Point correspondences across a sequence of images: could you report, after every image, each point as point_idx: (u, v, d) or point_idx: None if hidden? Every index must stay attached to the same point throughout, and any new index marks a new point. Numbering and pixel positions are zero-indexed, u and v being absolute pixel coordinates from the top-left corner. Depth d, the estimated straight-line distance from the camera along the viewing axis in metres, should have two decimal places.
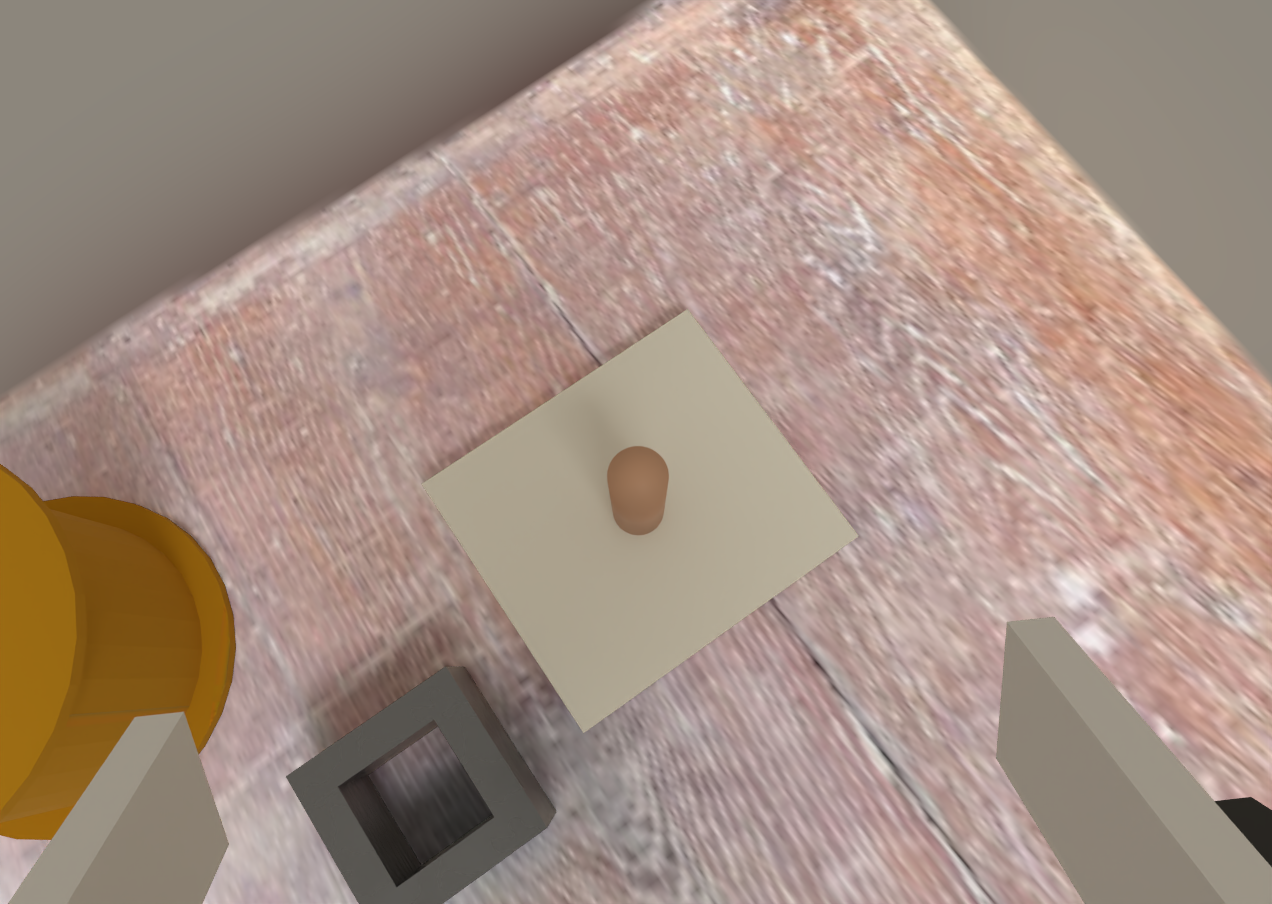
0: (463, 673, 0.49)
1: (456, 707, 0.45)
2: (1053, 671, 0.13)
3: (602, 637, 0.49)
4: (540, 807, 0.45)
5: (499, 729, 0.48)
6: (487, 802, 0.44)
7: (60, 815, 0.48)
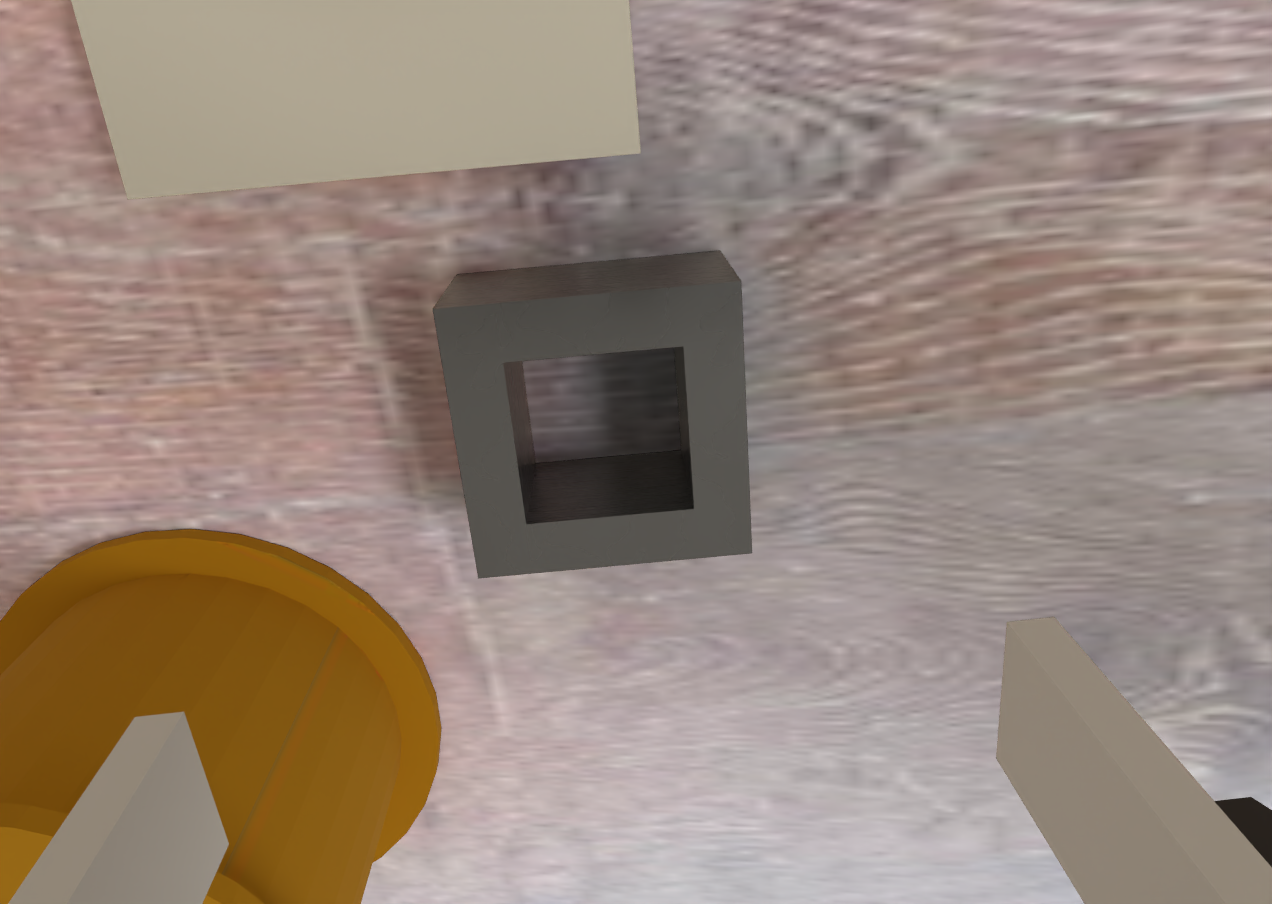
0: (463, 282, 0.30)
1: (502, 323, 0.27)
2: (1052, 671, 0.13)
3: (514, 39, 0.27)
4: (706, 273, 0.28)
5: (568, 272, 0.30)
6: (658, 345, 0.28)
7: (402, 789, 0.39)
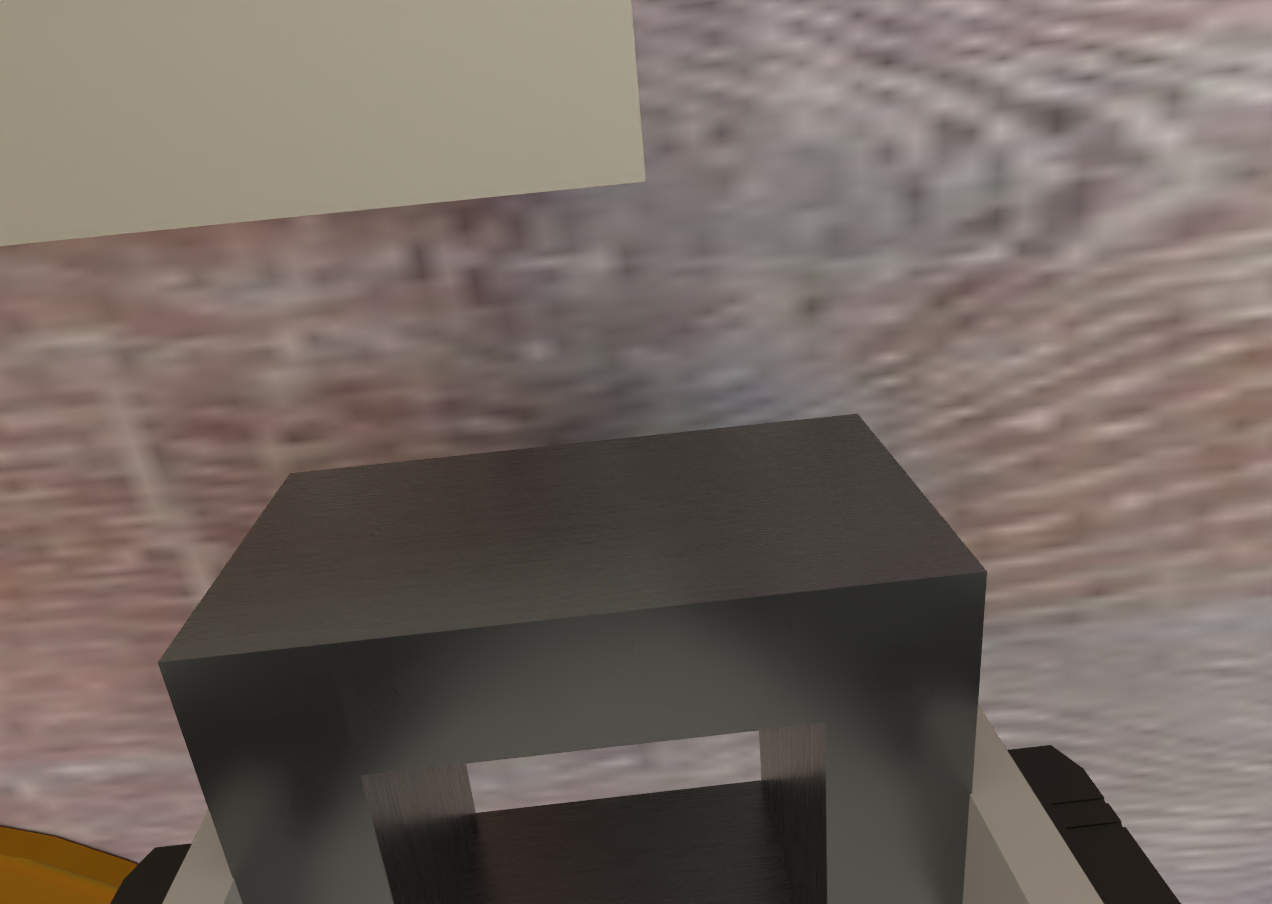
0: (288, 514, 0.13)
1: (351, 689, 0.10)
2: None
3: None
4: (871, 521, 0.11)
5: (531, 483, 0.13)
6: (762, 725, 0.11)
7: None
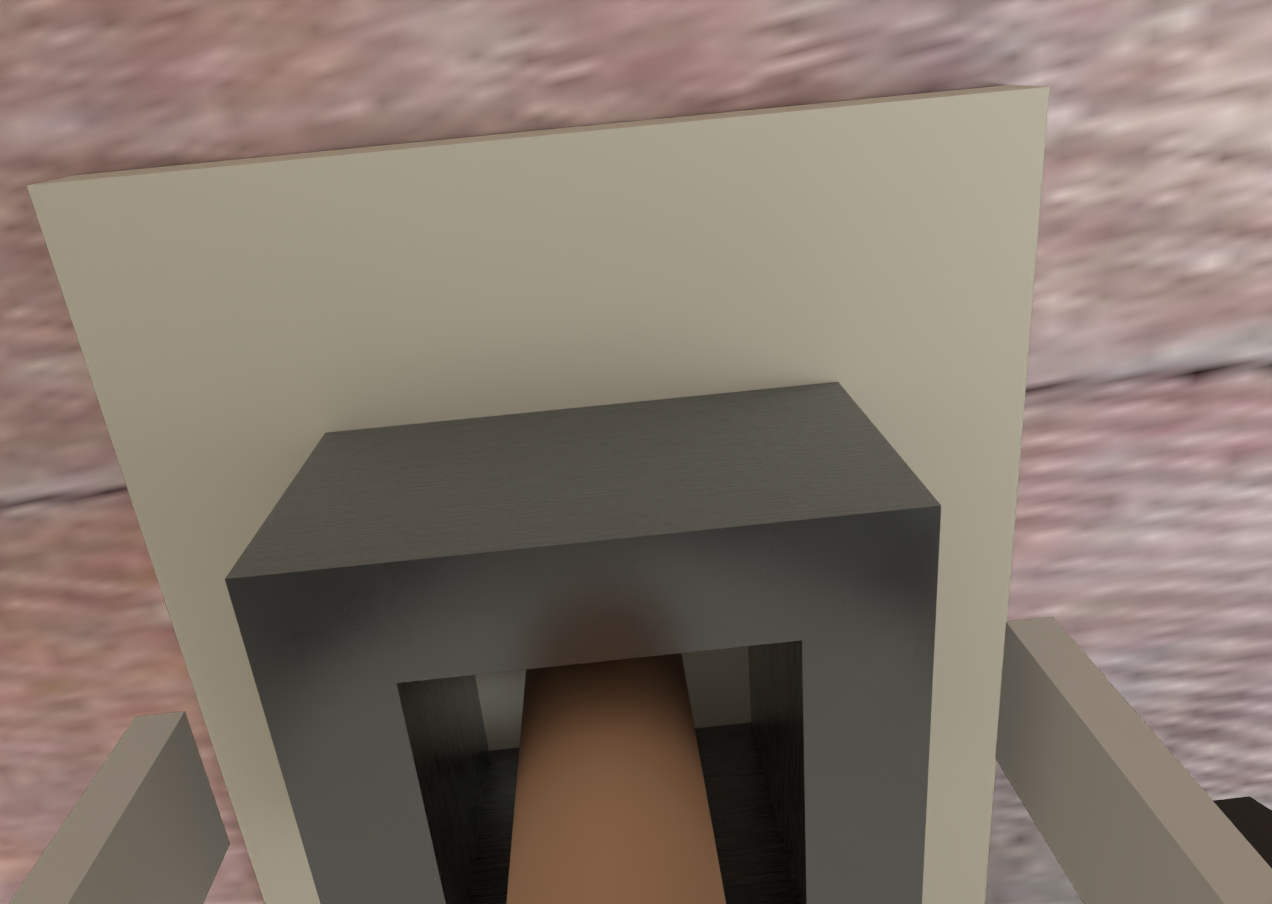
0: (327, 465, 0.15)
1: (390, 605, 0.12)
2: (1051, 670, 0.13)
3: None
4: (844, 467, 0.13)
5: (544, 439, 0.15)
6: (747, 642, 0.12)
7: None
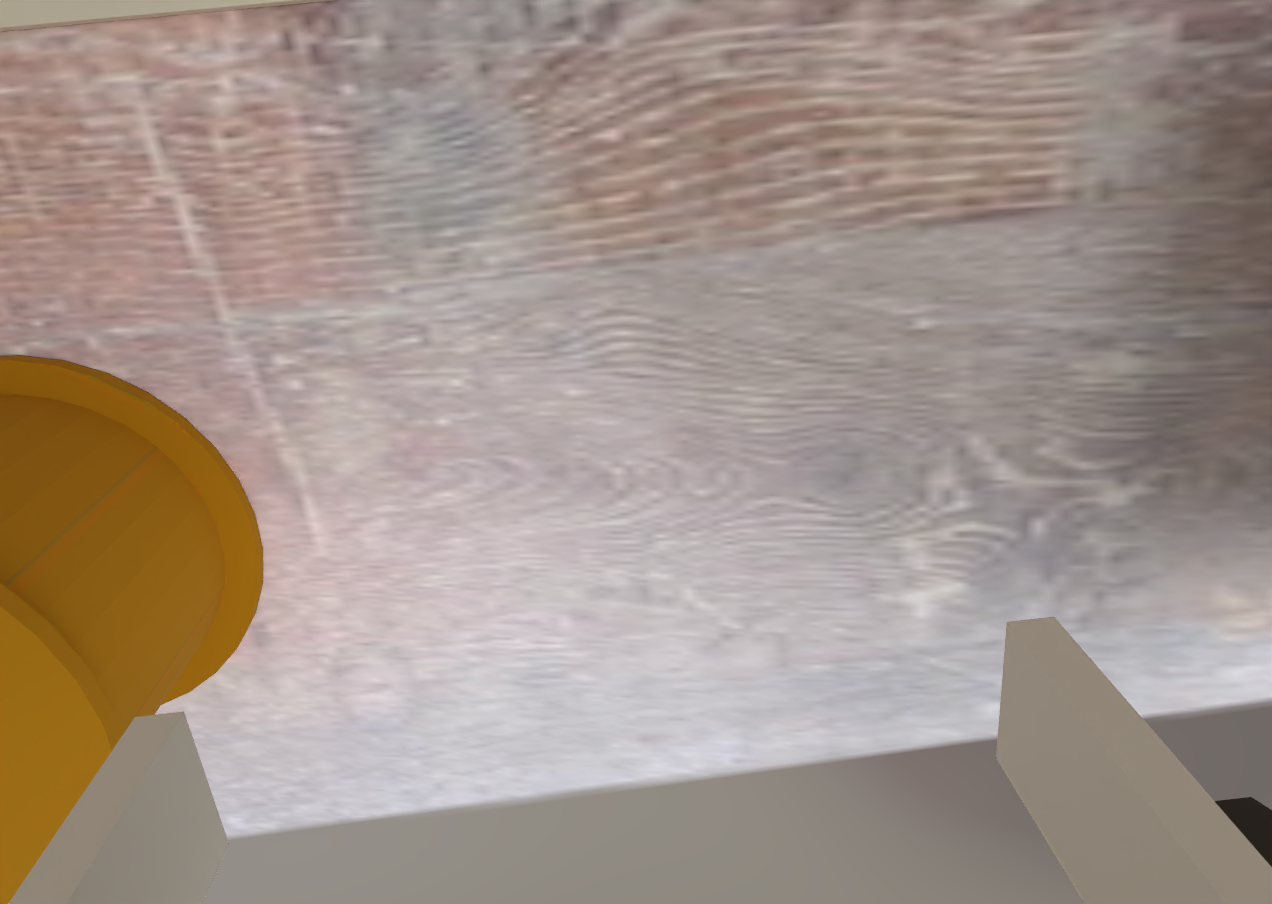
0: None
1: None
2: (1052, 671, 0.13)
3: None
4: None
5: None
6: None
7: (229, 605, 0.43)
